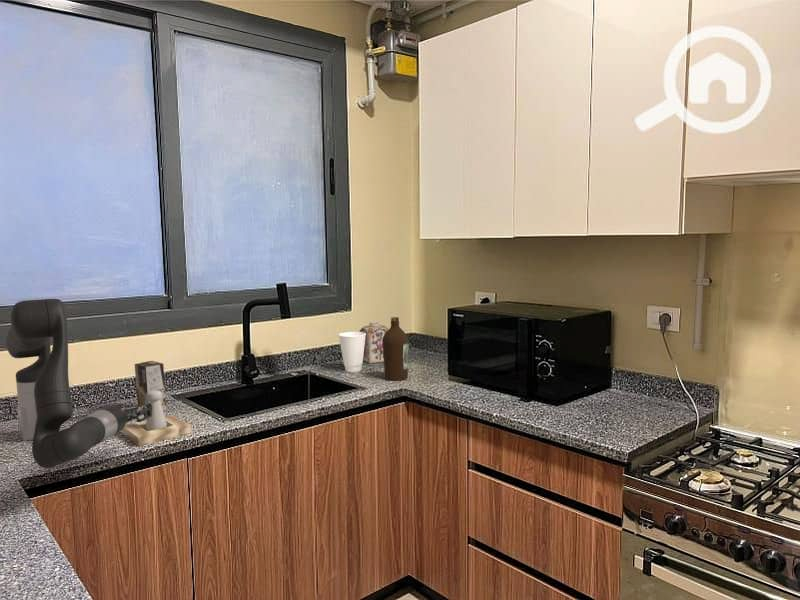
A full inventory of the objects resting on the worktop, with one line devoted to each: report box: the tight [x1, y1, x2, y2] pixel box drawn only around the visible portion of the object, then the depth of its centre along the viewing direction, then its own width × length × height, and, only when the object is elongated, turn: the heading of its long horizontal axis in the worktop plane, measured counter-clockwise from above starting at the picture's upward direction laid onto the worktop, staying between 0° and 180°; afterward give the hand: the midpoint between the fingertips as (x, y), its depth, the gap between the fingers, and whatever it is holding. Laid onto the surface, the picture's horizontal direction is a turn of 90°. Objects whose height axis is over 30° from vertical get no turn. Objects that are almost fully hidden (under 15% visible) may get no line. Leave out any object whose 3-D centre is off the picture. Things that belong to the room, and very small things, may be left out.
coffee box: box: [134, 360, 167, 411], centre depth 197 cm, size 9×6×16 cm
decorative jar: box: [358, 321, 390, 364], centre depth 270 cm, size 12×12×18 cm
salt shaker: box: [146, 390, 167, 431], centre depth 172 cm, size 6×6×13 cm
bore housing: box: [121, 414, 192, 447], centre depth 172 cm, size 15×15×2 cm
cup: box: [338, 331, 366, 373], centre depth 250 cm, size 12×12×16 cm
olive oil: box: [382, 316, 410, 382], centre depth 233 cm, size 11×11×25 cm
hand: (135, 407), depth 160 cm, fingers open, 8 cm apart
